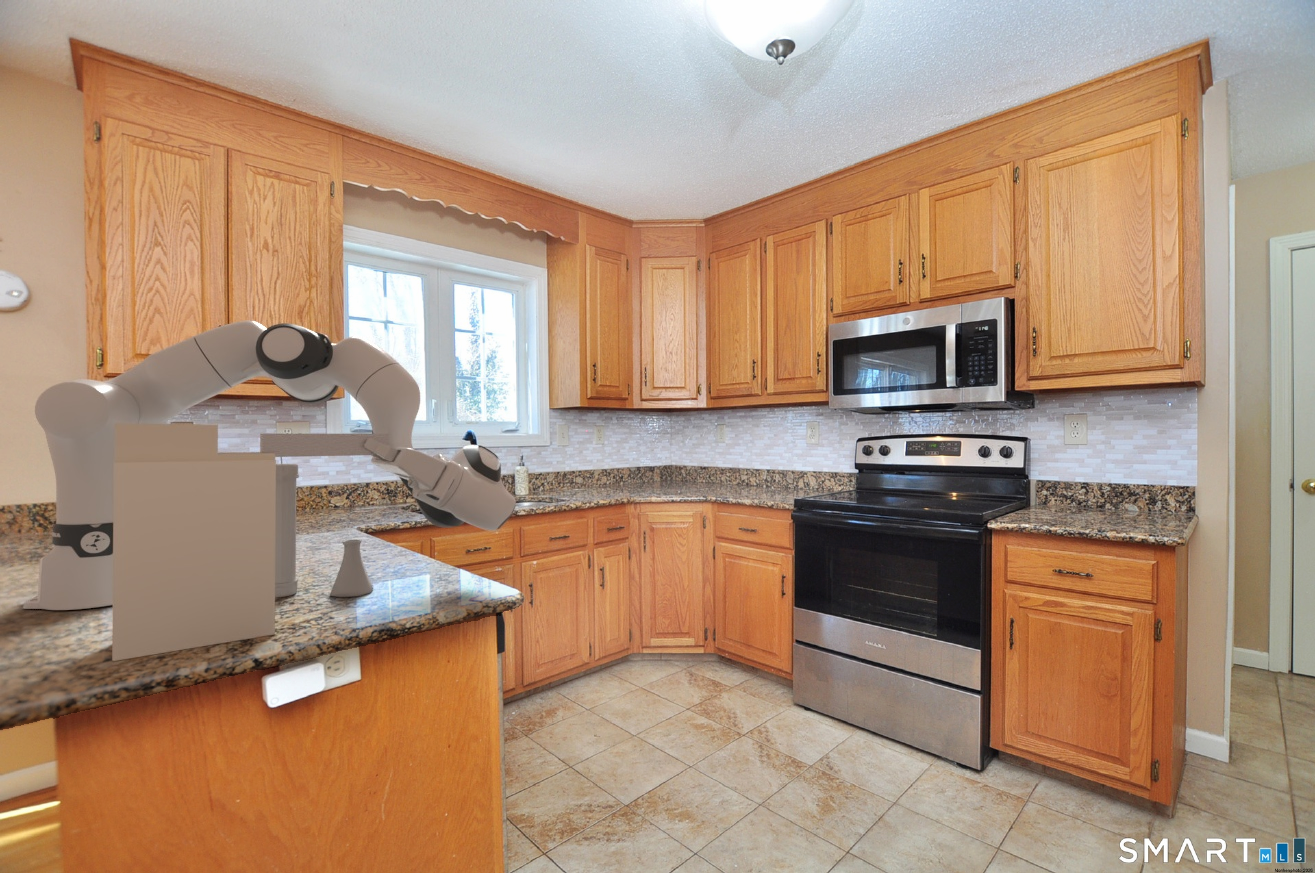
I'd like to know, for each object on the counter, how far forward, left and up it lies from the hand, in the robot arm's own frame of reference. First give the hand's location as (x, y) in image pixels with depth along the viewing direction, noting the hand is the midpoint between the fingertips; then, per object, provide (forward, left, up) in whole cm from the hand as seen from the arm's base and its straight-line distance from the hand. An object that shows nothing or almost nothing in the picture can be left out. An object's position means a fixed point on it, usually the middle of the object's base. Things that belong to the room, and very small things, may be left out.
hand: (362, 441), depth 101 cm
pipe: (-21, -10, -29) cm, 37 cm away
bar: (0, -5, -2) cm, 6 cm away
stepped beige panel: (0, -22, -29) cm, 36 cm away
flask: (-14, +1, -29) cm, 32 cm away
